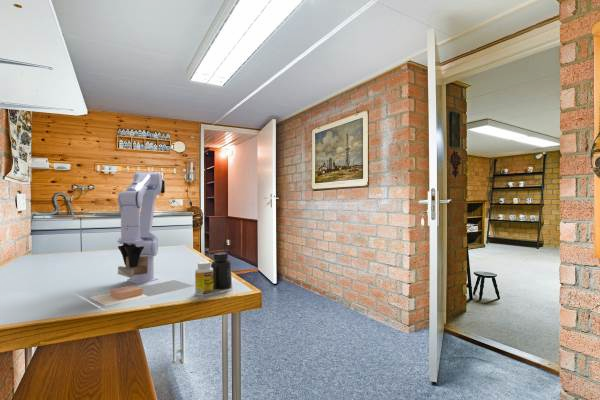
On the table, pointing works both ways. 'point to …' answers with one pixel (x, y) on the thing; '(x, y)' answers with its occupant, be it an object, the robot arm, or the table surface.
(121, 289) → the terracotta tile
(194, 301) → the table surface
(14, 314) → the table surface
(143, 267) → the pusher
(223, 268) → the supplement bottle
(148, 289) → the board
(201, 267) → the supplement bottle
